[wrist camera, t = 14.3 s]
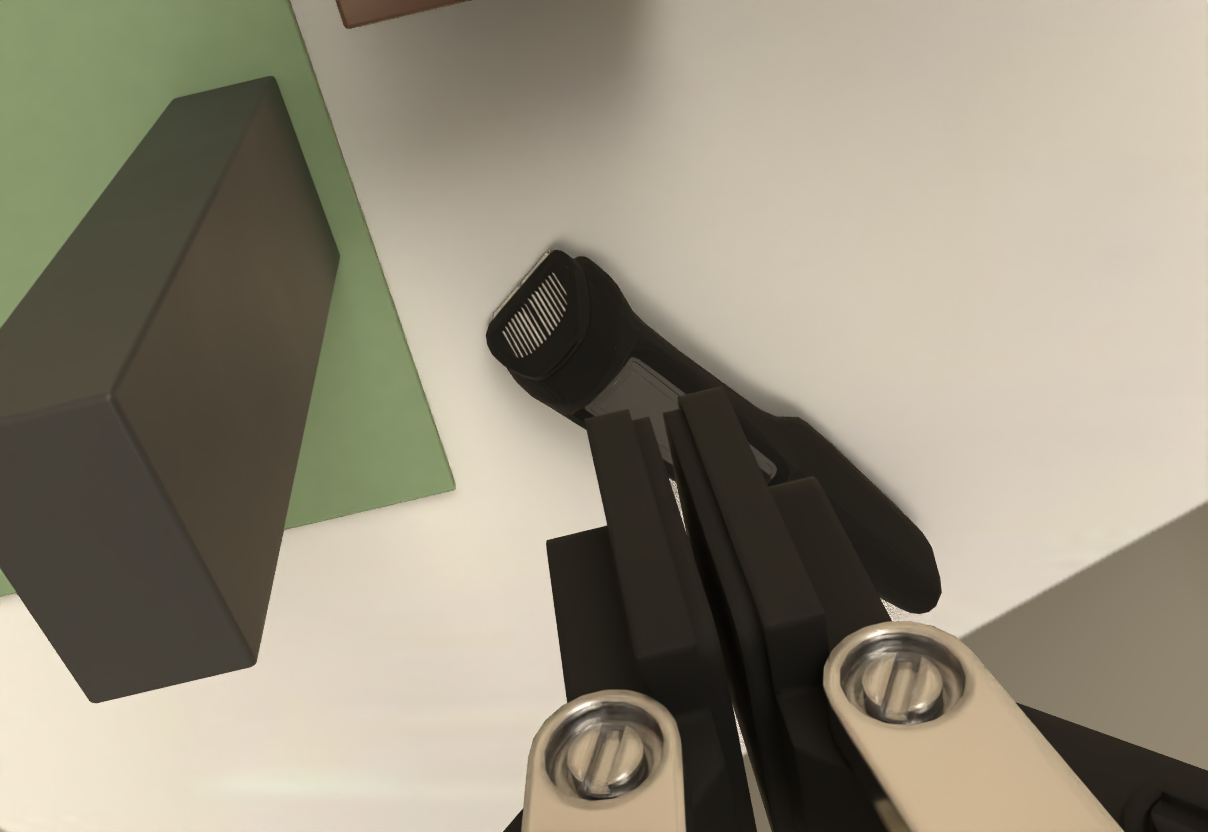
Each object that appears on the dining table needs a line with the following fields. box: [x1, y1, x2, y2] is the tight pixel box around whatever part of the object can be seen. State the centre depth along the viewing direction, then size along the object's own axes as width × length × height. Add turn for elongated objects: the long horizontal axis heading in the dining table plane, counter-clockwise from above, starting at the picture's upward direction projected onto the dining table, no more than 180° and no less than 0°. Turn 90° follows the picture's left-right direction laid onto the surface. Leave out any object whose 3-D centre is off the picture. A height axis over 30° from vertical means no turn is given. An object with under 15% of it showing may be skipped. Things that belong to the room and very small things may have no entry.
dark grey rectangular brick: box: [0, 76, 340, 703], centre depth 20 cm, size 5×3×14 cm, turn 11°
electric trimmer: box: [486, 249, 942, 614], centre depth 30 cm, size 4×16×3 cm, turn 49°
